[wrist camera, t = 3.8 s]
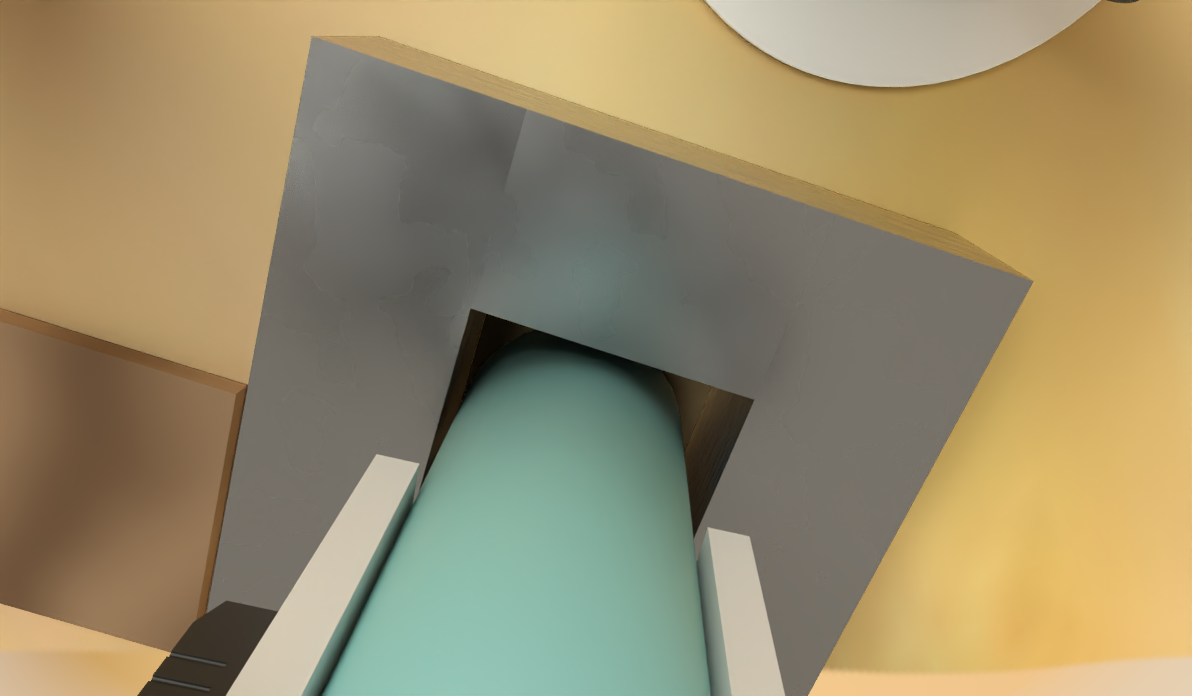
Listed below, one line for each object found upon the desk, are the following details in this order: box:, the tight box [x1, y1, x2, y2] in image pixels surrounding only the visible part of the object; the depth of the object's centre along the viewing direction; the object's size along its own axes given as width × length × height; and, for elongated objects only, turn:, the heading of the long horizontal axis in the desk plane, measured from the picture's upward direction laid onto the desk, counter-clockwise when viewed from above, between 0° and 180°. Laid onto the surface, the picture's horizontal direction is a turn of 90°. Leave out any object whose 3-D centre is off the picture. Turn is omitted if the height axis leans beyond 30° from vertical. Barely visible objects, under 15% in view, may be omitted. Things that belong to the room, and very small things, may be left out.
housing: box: [207, 36, 1033, 696], centre depth 19 cm, size 14×14×4 cm
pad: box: [0, 309, 247, 652], centre depth 23 cm, size 9×9×1 cm
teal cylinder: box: [321, 330, 711, 696], centre depth 13 cm, size 5×5×15 cm
